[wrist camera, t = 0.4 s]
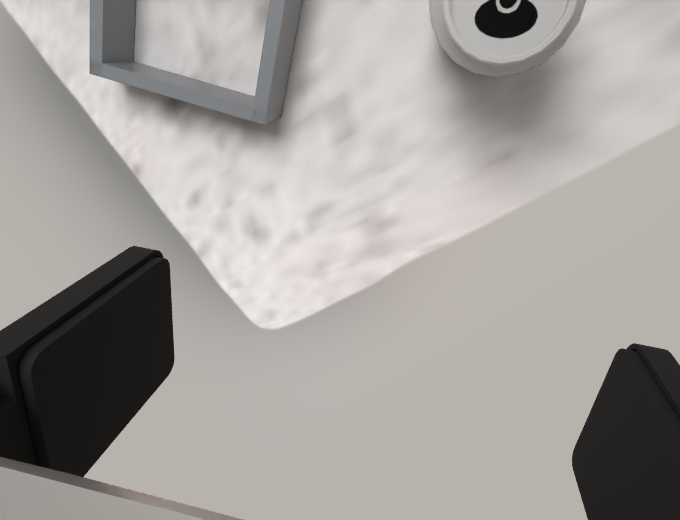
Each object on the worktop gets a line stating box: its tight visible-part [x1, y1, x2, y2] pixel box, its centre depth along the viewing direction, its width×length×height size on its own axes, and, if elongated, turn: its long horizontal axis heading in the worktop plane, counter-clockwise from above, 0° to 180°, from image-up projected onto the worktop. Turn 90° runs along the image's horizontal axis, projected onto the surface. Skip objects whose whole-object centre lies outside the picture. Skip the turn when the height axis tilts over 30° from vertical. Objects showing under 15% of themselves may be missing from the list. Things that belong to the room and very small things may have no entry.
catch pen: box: [90, 0, 302, 125], centre depth 35 cm, size 12×14×4 cm
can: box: [429, 0, 586, 77], centre depth 27 cm, size 8×8×12 cm
